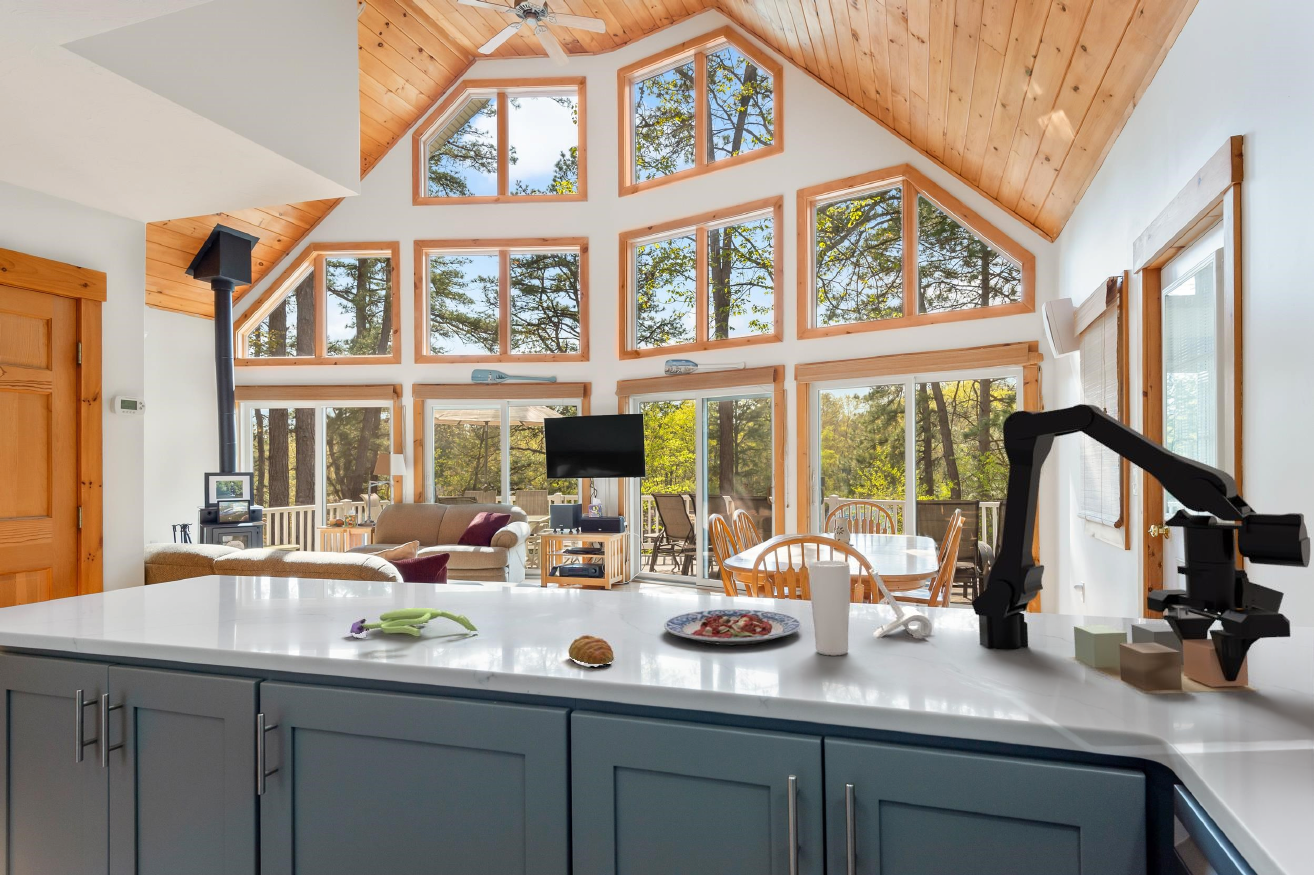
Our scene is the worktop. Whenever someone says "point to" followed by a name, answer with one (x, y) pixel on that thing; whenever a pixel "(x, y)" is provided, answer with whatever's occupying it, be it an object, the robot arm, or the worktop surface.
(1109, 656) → the sage block
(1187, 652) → the terracotta block
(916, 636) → the plastic part
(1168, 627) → the grey block
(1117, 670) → the oak board
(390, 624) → the figurine
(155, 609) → the worktop surface
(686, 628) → the ceramic plate
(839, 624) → the drinking glass
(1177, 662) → the walnut block
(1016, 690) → the worktop surface
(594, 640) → the pastry
